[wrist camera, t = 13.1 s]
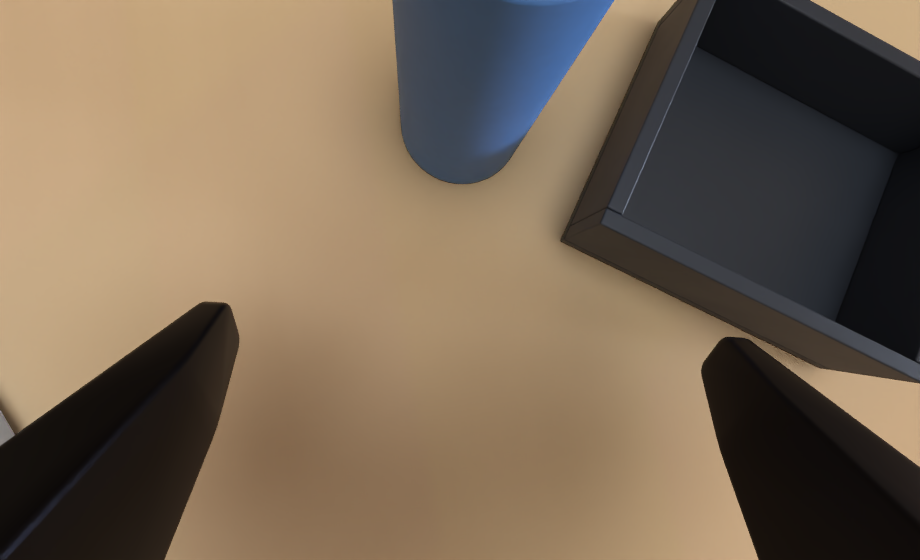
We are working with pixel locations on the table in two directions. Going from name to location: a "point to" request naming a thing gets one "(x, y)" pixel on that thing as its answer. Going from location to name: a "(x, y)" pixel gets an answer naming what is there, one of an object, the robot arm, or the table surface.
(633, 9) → the table surface
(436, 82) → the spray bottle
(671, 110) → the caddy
